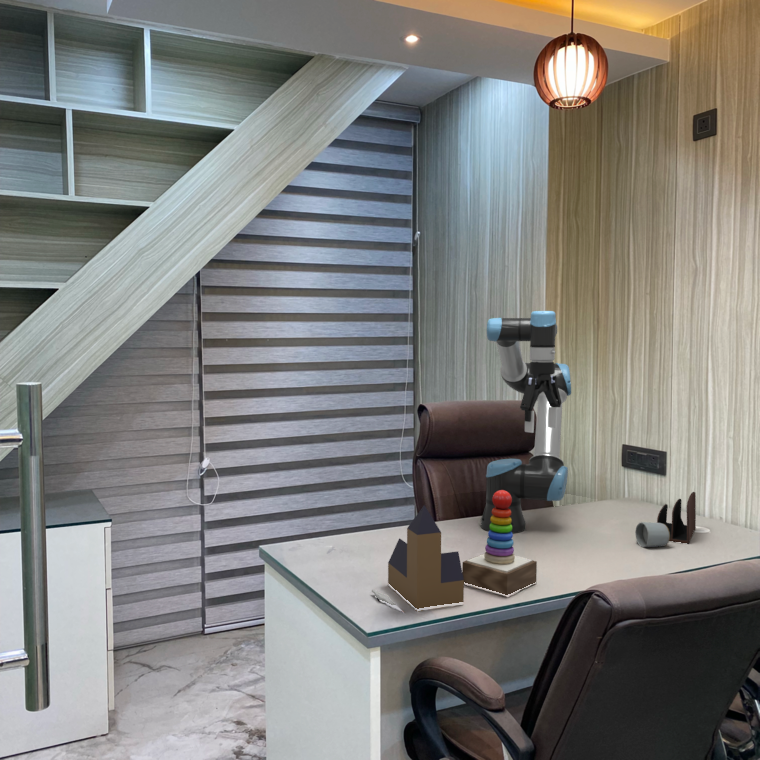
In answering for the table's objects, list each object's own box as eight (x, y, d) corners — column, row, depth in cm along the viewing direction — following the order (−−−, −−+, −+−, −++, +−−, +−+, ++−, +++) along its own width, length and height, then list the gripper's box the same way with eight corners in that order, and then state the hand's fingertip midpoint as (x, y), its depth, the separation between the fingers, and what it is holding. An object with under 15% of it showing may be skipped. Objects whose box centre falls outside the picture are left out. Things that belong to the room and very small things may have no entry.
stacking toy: (499, 566, 184) (500, 495, 182) (478, 559, 190) (479, 489, 189) (520, 561, 188) (522, 491, 187) (499, 553, 195) (500, 485, 193)
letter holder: (695, 529, 243) (697, 489, 242) (688, 545, 226) (690, 501, 225) (664, 525, 248) (665, 485, 247) (655, 540, 230) (656, 497, 230)
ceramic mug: (671, 548, 221) (672, 524, 221) (647, 550, 219) (648, 525, 219) (651, 539, 231) (652, 516, 231) (629, 541, 230) (629, 517, 229)
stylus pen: (367, 595, 181) (368, 588, 181) (376, 593, 182) (376, 586, 182) (401, 618, 168) (401, 611, 168) (410, 616, 170) (410, 609, 170)
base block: (462, 584, 189) (462, 560, 189) (492, 571, 199) (492, 548, 199) (507, 597, 180) (507, 572, 179) (536, 583, 190) (536, 560, 189)
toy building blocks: (416, 611, 170) (417, 509, 169) (388, 585, 188) (388, 492, 186) (463, 605, 175) (464, 504, 173) (431, 580, 192) (431, 488, 191)
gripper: (531, 363, 207) (529, 435, 209) (573, 360, 225) (571, 427, 227) (509, 362, 213) (508, 432, 214) (552, 359, 231) (550, 424, 232)
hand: (541, 430), depth 221 cm, fingers open, 13 cm apart
